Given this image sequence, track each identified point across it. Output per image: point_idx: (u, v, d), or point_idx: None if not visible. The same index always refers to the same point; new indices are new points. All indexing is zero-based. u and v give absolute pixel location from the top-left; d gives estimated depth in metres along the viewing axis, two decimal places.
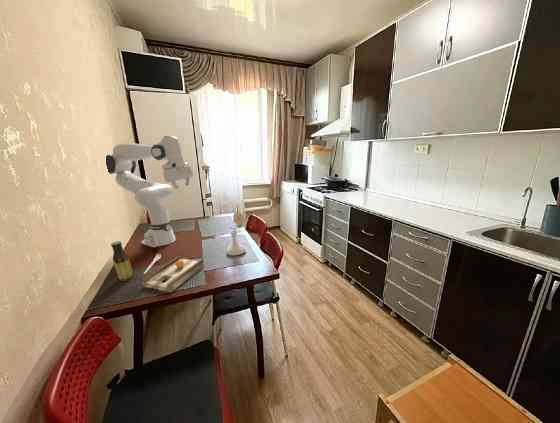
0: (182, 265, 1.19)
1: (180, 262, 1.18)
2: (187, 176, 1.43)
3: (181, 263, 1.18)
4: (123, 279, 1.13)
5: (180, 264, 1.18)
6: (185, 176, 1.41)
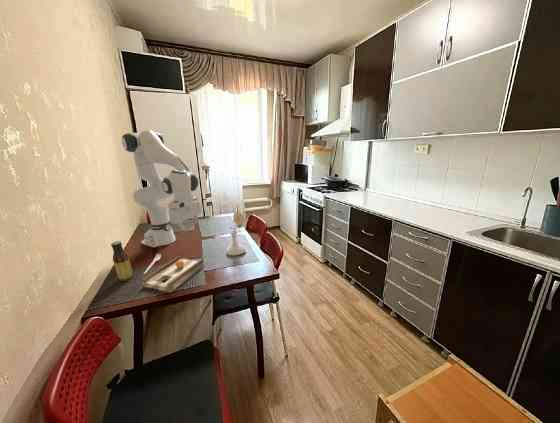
0: (182, 265, 1.19)
1: (180, 262, 1.18)
2: (195, 213, 1.26)
3: (181, 263, 1.18)
4: (123, 279, 1.13)
5: (180, 264, 1.18)
6: (193, 214, 1.24)
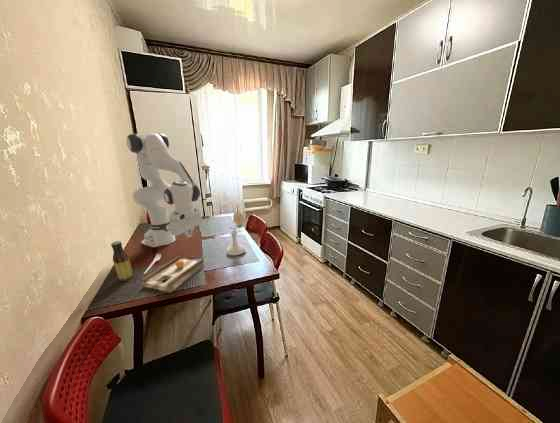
0: (182, 265, 1.19)
1: (180, 262, 1.18)
2: (195, 224, 1.26)
3: (181, 263, 1.18)
4: (123, 279, 1.13)
5: (180, 264, 1.18)
6: (193, 225, 1.25)
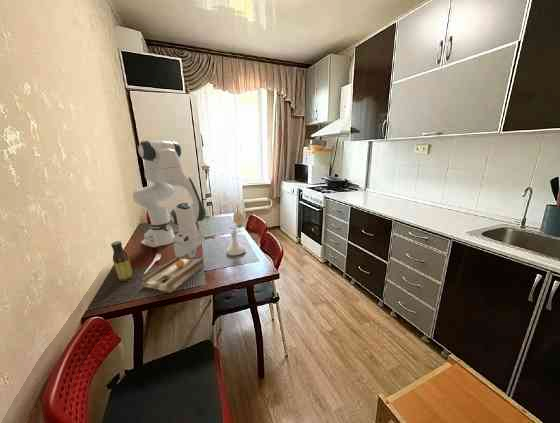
0: (182, 265, 1.19)
1: (180, 262, 1.18)
2: (198, 244, 1.30)
3: (181, 263, 1.18)
4: (123, 279, 1.13)
5: (180, 264, 1.18)
6: (196, 245, 1.28)
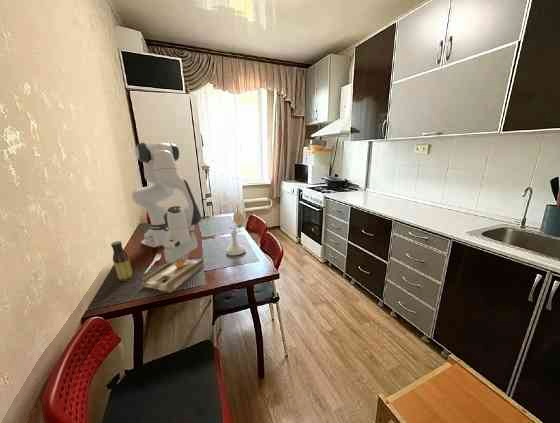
0: (182, 265, 1.18)
1: (179, 263, 1.18)
2: (191, 249, 1.24)
3: (181, 264, 1.18)
4: (123, 279, 1.13)
5: (180, 265, 1.17)
6: (189, 250, 1.22)
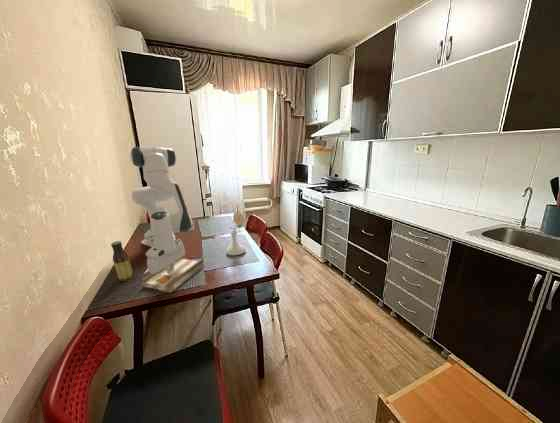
0: None
1: (163, 279, 1.08)
2: (178, 257, 1.15)
3: (164, 280, 1.08)
4: (123, 279, 1.13)
5: (163, 281, 1.08)
6: (175, 259, 1.14)
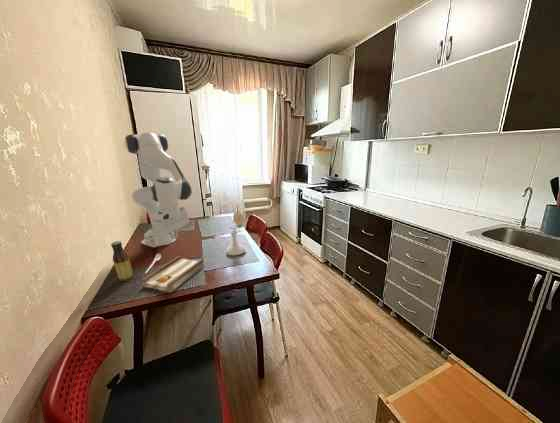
0: None
1: (164, 278, 1.09)
2: (182, 224, 1.17)
3: (165, 279, 1.09)
4: (123, 279, 1.13)
5: (164, 280, 1.08)
6: (179, 225, 1.15)
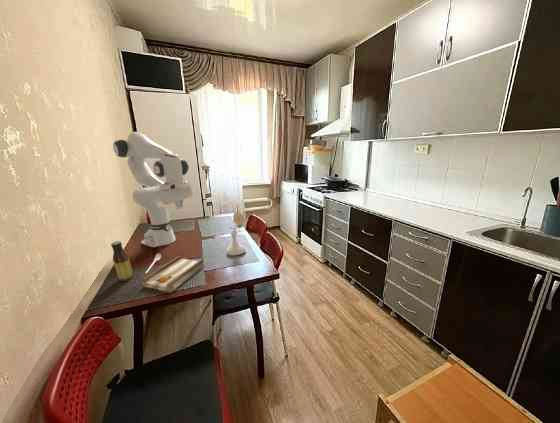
0: None
1: (166, 277, 1.10)
2: (186, 196, 1.33)
3: (166, 278, 1.10)
4: (123, 279, 1.13)
5: (165, 279, 1.09)
6: (184, 197, 1.31)
